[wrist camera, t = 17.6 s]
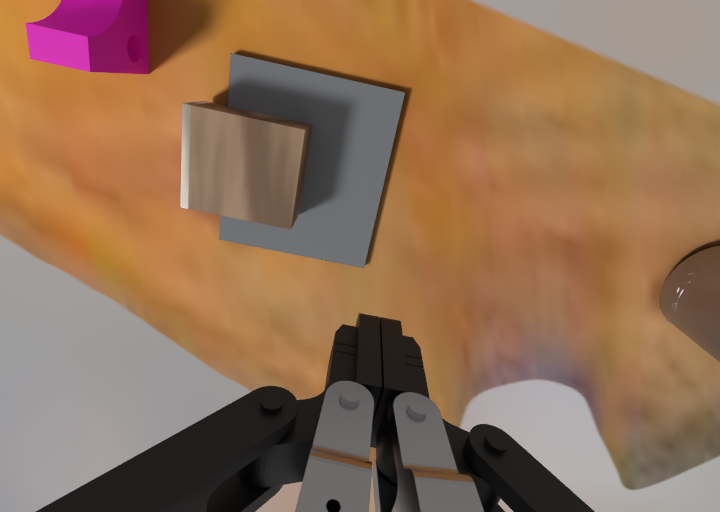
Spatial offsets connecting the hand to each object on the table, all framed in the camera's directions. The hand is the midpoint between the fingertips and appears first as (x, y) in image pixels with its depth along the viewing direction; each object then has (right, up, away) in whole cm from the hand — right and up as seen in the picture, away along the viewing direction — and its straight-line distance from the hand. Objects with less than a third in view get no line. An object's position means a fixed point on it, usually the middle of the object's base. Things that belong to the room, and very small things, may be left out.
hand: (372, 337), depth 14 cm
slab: (-5, +9, +18) cm, 21 cm away
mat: (-5, +10, +21) cm, 24 cm away
